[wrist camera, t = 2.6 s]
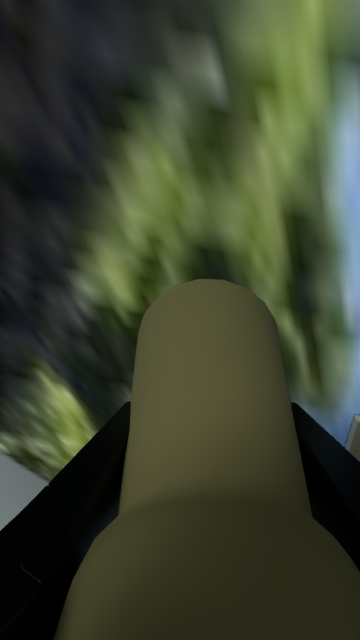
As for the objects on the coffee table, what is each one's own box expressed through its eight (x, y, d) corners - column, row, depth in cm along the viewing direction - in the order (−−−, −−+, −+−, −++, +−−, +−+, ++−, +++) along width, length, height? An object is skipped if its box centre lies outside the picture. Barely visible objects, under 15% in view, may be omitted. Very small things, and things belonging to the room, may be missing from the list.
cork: (228, 415, 15) (284, 900, 5) (117, 364, 14) (-86, 849, 4) (308, 321, 12) (744, 947, 2) (178, 250, 11) (22, 837, 1)
